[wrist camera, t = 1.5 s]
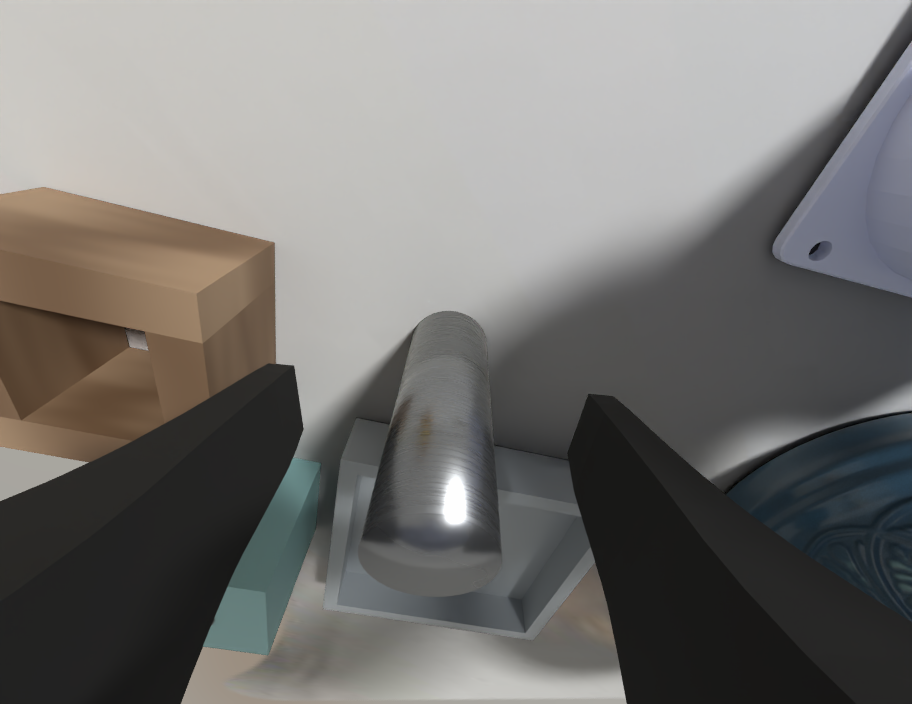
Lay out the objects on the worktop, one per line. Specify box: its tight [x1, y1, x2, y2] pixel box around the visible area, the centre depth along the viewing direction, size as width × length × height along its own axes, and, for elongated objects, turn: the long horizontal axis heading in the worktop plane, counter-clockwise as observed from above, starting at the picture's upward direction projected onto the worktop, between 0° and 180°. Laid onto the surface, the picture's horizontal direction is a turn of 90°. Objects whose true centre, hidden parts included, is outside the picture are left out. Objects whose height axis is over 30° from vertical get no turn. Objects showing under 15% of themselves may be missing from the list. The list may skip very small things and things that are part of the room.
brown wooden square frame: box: [0, 187, 276, 462], centre depth 10 cm, size 6×6×4 cm
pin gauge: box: [358, 311, 502, 597], centre depth 9 cm, size 2×2×7 cm
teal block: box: [203, 458, 321, 655], centre depth 14 cm, size 4×4×5 cm
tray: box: [323, 418, 595, 640], centre depth 16 cm, size 10×10×2 cm
